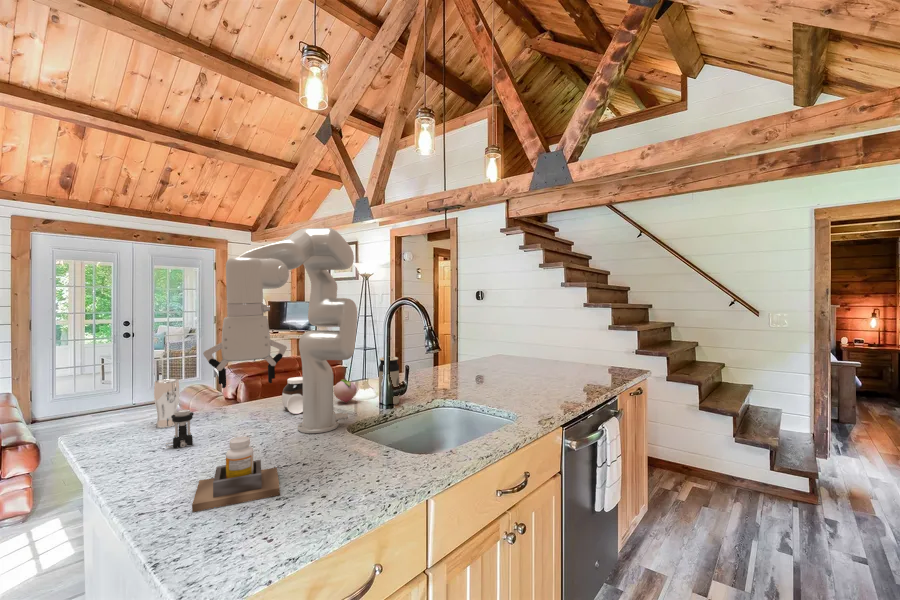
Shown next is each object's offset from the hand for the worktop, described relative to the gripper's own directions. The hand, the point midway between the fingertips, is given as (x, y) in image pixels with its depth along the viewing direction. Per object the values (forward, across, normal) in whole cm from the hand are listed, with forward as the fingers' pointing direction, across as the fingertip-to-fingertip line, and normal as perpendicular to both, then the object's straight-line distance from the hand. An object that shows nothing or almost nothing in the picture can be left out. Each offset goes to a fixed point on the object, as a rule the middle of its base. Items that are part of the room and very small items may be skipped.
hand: (247, 384), depth 96 cm
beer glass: (+24, +25, -57) cm, 66 cm away
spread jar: (+24, -16, -56) cm, 64 cm away
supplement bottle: (+21, +2, +6) cm, 22 cm away
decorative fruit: (+25, -34, -59) cm, 73 cm away
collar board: (+22, +2, +6) cm, 23 cm away
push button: (+23, +18, -32) cm, 43 cm away
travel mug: (+25, -50, -51) cm, 76 cm away
